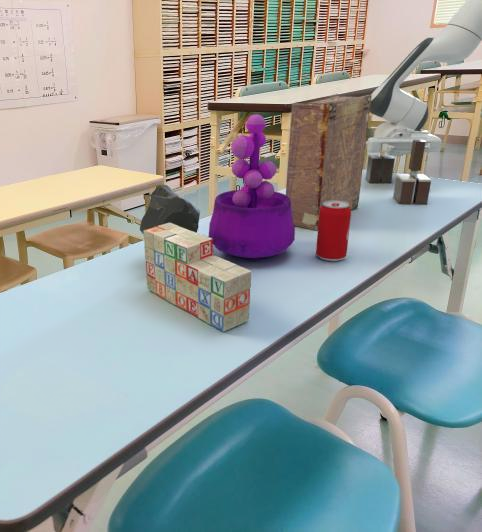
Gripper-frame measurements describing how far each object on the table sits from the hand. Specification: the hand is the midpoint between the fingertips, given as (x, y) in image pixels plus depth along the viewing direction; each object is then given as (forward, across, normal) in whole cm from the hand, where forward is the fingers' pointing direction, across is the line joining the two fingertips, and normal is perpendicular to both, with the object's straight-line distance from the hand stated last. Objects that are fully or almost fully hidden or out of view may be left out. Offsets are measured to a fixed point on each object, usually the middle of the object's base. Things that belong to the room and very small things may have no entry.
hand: (409, 149), depth 150 cm
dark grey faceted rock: (+63, -62, +13) cm, 89 cm away
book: (+23, -26, +13) cm, 37 cm away
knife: (+8, 0, +13) cm, 15 cm away
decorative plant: (+52, -45, +13) cm, 70 cm away
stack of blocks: (+80, -55, +13) cm, 98 cm away
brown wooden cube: (+8, 0, +13) cm, 15 cm away
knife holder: (-16, -3, +13) cm, 21 cm away
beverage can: (+54, -28, +13) cm, 62 cm away
